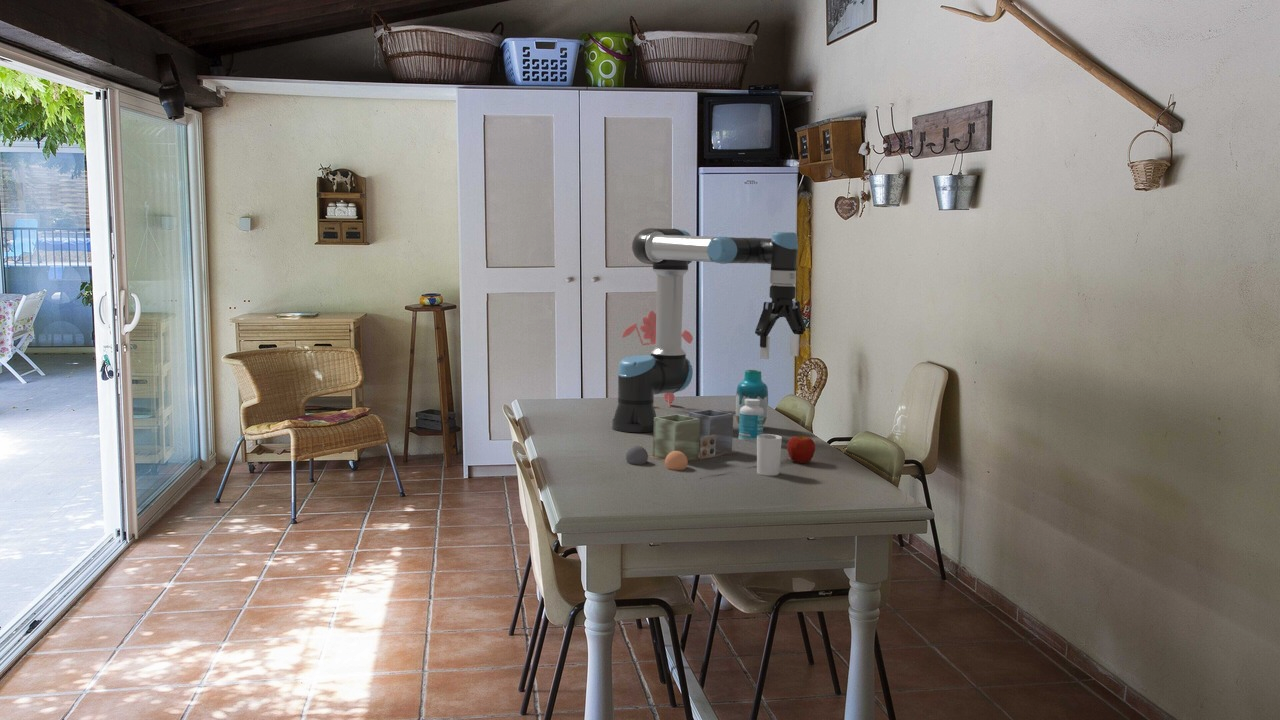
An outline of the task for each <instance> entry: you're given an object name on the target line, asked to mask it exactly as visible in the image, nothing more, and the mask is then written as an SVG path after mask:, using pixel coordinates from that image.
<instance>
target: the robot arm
mask: <svg viewBox="0 0 1280 720" xmlns="http://www.w3.org/2000/svg"><path fill="white" fill-rule="evenodd" d="M771 235H772V236H771V238H763V237H735V236H734V237H733V236H732V237H728V236H701V235H691V234H690V233H689V232H688V231H686V230H685V229H680V228H679V229H678V228H656V227H655V228H653V227H649V228H644V229H642V230H640V231H639V232H638V233H636V235H635V236H634V238H633V239H632V244H631V249H632V253H633V255H634V257H635V259H637V260H638V261H639V262H641V264H642V263H643V264H646V265H652V271H653V272H654V273H655V274H656V276H657V277H656V312H655V314H656V344H655V347H654V349H653V350H651V352H650V354H645V355H644V354H640V355H637V354H636V355H630V356H627V357H623V358H622V359H621V360H620V361H619V363H618V372H617V378H618V379H617V385H618V388H617V405H616V409H615V412H614V416H613V418H612V420H611V428H612V429H613V430H615V431H618V432H626V433H650V432H654V417H657V414H656V410H655V405H654V400H655V395H661V394H665V393H674V394H675V393H678V392H682V391H684V390H686V389H687V388H688V387H689V385H690V384H691V381H692V379H693V369H694V368H693V366H692V364H691V362H690V359H688V358H687V355H686V354H687V353H686V352H685V350H684V349H683V347H682V339H683V337H682V333H683V330H682V329H683V303H684V302H683V298H684V293H683V292H684V276H685V274H686V273H687V272H688V271H689V265H690V264H691V263H692V262H703V263H704V262H705V263H716V264H721V265H723V264H725V265H726V264H763V265H764V264H766V265H770V272H769V274H770V276H769V283H770V284H771V285H770V286H769V298H770V299H771V302H770V301H764V302H763V306H762V307H763V308H762V311H761V314H760V317H759V320H758V322H757V325H756V327H755V331H754V333H755V335H756V336H759V348H760V352H759V353H760V354H759V357H760V359H762V360H763V359H764V360H769V359H770V343H771V342H770V341H771V336H769V335H770V333H771V331H772V329H773V328H774V326H775V324H776V322H777V321H778V320H779V319H781V318H785V321H786V322H787V324H788V326H789V328H790V329H791V332H792V333H791V334H790V343H789V344H790V347H789V356H793V357H799V355H800V354H799V353H800V344H801V335H803V334H804V333H805V332H806V326H805V322H804V319H803V316H802V315H803V314H802V311H801V301H798V300H794V299H795V298H796V292H797V291H796V286H794V285H796V283H797V263H798V262H797V260H798V253H799V252H798V250H799V244H798V243H799V242H798V241H799V240H798V237H799V236H798V234H797V233H796V232H789V231H788V232H787V231H774V232H773V233H772V234H771Z"/></svg>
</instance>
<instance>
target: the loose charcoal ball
mask: <svg viewBox="0 0 1280 720" xmlns="http://www.w3.org/2000/svg"><path fill="white" fill-rule="evenodd" d="M648 456H649V454H648V451H647V450H646V449H645V447H643V446H641V445H633V446H631V447H630V448H628V450H626V454H625V460H626V462H627V464H630V465H635V466H636V465H645V464H647V462H648V460H649V457H648Z"/></svg>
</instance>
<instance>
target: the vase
mask: <svg viewBox="0 0 1280 720" xmlns="http://www.w3.org/2000/svg"><path fill="white" fill-rule="evenodd" d="M743 376H744V377H743V381H742V380H741V381H740V382H739V383H738V384H737V387H736V393H735V419H736V422H737V424H738V425H739V417H740V409H741V407H743V406H745V403H744V402H745V399H758V400H760V405H759V407H761V408H763V410H764V422H763V426H764V424H765V423H766V421H767V418H768V417H767V416H768V409H769V408H768V407H769V391H768V390H769V389H768V385H767V384H766V383H765V382H763V380H762V371H761V370H759V369H746V370H744V375H743Z"/></svg>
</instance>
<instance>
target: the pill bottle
mask: <svg viewBox="0 0 1280 720" xmlns="http://www.w3.org/2000/svg"><path fill="white" fill-rule="evenodd" d="M744 403H745V406H743V407H741V409H740V417H739V424H738V440H741V441H745V442H750V443H756V444H757V436H758V435H761V434H764V425H763V422H764V410H763V408H761V407H759V405H760V400H758V399H745V402H744Z"/></svg>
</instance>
